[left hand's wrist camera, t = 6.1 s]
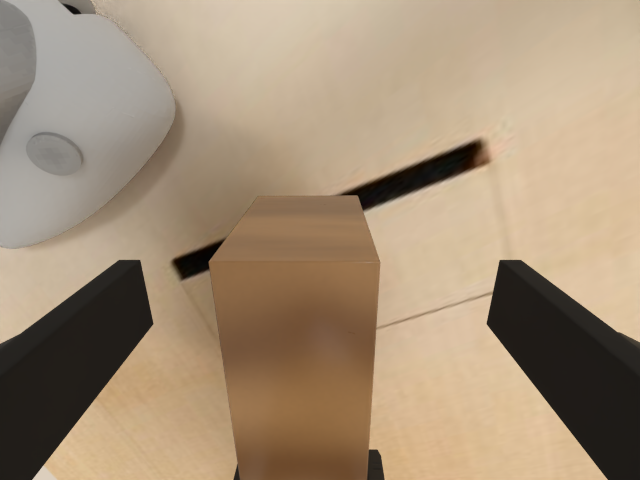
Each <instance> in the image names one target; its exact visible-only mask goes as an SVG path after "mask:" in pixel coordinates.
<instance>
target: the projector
mask: <svg viewBox="0 0 640 480" xmlns="http://www.w3.org/2000/svg"><path fill="white" fill-rule="evenodd" d="M175 113H176V104H175V99H174V96H173V93H172V90H171V88H170V86H169V84H168V82H167V80H166V79H165V77H164V76H163V75H162V73H161V72H160V71H159V69H158V68H157V67H156V66H155V65H154V63H153V62H152V61H151V60H150V59H149V58H148V56H147V55H146V54H145V53H144V52H143V51H142V50H141V49H140V48H139V47H138V46H137V45H136V44H135V43H134V42H133V41H132V40H131V39H130V38H129V37H128V36H127V35H126V34H125V33H124V32H123V31H122V30H121V29H120V28H119V27H118V26H117V25H116V24H115V23H114V22H113V21H112V20H110V19H109V18H107V17H104V16H101V15H96V12H95V9H94V6H93V4H92V2H91V0H0V247H3V248H7V249H17V248H22V247H27V246H31V245H34V244H37V243H40V242H43V241H46V240H48V239H50V238H53V237H55V236H57V235H59V234H61V233H63V232H65V231H67V230H69V229H71V228H72V227H74V226H76V225H77V224H79V223H81V222H82V221H84V220H85V219H87V218H88V217H90V216H91V215H92V214H94V213H95V212H96V211H98V210H99V209H100V208H101V207H103V206H104V205H105V204H106V203H108V202H109V201H110V200H111V199H112V198H113V197H114V196H115V195H116V194H117V193H118V192H120V191H121V190H122V189H123V188H124V187H125V186H126V184H127V183H128V182H129V181H130V180H131V179H132V178H133V177H134V176H135V175H136V174H137V173H138V172H139V171H140V169H141V168H142V167H143V166H144V165H145V164H146V162H147V161H148V160H149V159H150V158H151V156H152V155H153V154H154V153H155V151H156V150H157V148H158V147H159V146H160V144H161V143H162V142H163V140H164V138H165V137H166V135H167V133H168V132H169V130H170V128H171V126H172V124H173V121H174V118H175Z"/></svg>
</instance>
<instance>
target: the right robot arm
mask: <svg viewBox="0 0 640 480" xmlns="http://www.w3.org/2000/svg"><path fill="white" fill-rule="evenodd" d="M234 480H240V476H239V469H238V464H237V468H236V472H235V476H234ZM367 480H384V473H383V467H382V460H381V455H380V454H379V452H378V450H369V454H368V470H367Z"/></svg>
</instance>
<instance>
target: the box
mask: <svg viewBox="0 0 640 480" xmlns="http://www.w3.org/2000/svg"><path fill="white" fill-rule="evenodd" d="M209 268H210V275H211V282H212V289H213V296H214V303H215V310H216V316H217V323H218V330H219V337H220V344H221V351H222V358H223V365H224V372H225V379H226V386H227V393H228V400H229V407H230V413H231V420H232V427H233V434H234V441H235V448H236V455H237V462H238V469H239V476H240V480H367V470H368V454H369V438H370V422H371V405H372V389H373V373H374V356H375V340H376V324H377V308H378V291H379V275H380V260H379V257H378V254H377V251H376V248H375V245H374V242H373V239H372V237H371V234H370V231H369V228H368V225H367V222H366V219H365V216H364V213H363V210H362V207H361V204H360V201H359V198H358V196H258V197H257V198H256V200H255V201H254V202H253V204H252V205H251V206H250V208H249V209H248V210H247V212H246V213H245V214H244V216H243V217H242V218H241V220H240V221H239V222H238V223H237V225H236V226H235V227H234V229H233V230H232V231H231V233H230V234H229V235H228V237H227V238H226V239H225V241H224V242H223V243H222V245H221V246H220V247H219V249H218V250H217V251H216V253H215V254H214V255H213V257H212V258H211V259H210V261H209Z"/></svg>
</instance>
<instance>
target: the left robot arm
mask: <svg viewBox="0 0 640 480" xmlns="http://www.w3.org/2000/svg"><path fill="white" fill-rule="evenodd" d="M152 325H153V320H152V315H151V310H150V305H149V300H148V296H147V291H146V286H145V281H144V276H143V271H142V267H141V262H140V260H119V261H117V262H116V263H115V264H113V265H112V266H111V267H109V268H108V269H106V270H105V271H104V272H102V273H101V274H100V275H98V276H97V277H96V278H94V279H93V280H92V281H90V282H89V283H88V284H86V285H85V286H84V287H82V288H81V289H80V290H78V291H77V292H76V293H74V294H73V295H72V296H70V297H69V298H68V299H66V300H65V301H64V302H62V303H61V304H60V305H58V306H57V307H56V308H54V309H53V310H52V311H50V312H49V313H48V314H46V315H45V316H44V317H42V318H41V319H40V320H38V321H37V322H36V323H34V324H33V325H32V326H30V327H29V328H28V329H26V330H25V331H24V332H22V333H21V334H19V335H17V336H15V337H13V338H11V339H9V340H7V341H5V342H3V343H1V344H0V480H32V479H33V478H34V477H35V475H36V474H37V473H38V471H39V470H40V469H41V468H42V466H43V465H44V464H45V463H46V461H47V460H48V459H49V457H50V456H51V455H52V454H53V452H54V451H55V450H56V448H57V447H58V446H59V445H60V443H61V442H62V441H63V439H64V438H65V437H66V436H67V434H68V433H69V432H70V430H71V429H72V428H73V427H74V425H75V424H76V423H77V421H78V420H79V419H80V418H81V416H82V415H83V414H84V412H85V411H86V410H87V409H88V407H89V406H90V405H91V403H92V402H93V401H94V400H95V398H96V397H97V396H98V394H99V393H100V392H101V391H102V389H103V388H104V387H105V385H106V384H107V383H108V382H109V380H110V379H111V378H112V376H113V375H114V374H115V373H116V371H117V370H118V369H119V367H120V366H121V365H122V364H123V362H124V361H125V360H126V358H127V357H128V356H129V355H130V353H131V352H132V351H133V349H134V348H135V347H136V346H137V344H138V343H139V342H140V340H141V339H142V338H143V337H144V335H145V334H146V333H147V331H148V330H149V329H150V328H151V326H152ZM487 325H488V326H489V328H490V329H491V330H492V331H493V333H494V334H495V335H496V337H497V338H498V339H499V340H500V342H501V343H502V344H503V346H504V347H505V348H506V349H507V351H508V352H509V353H510V355H511V356H512V357H513V358H514V360H515V361H516V362H517V364H518V365H519V366H520V367H521V369H522V370H523V371H524V373H525V374H526V375H527V376H528V378H529V379H530V380H531V382H532V383H533V384H534V385H535V387H536V388H537V389H538V391H539V392H540V393H541V394H542V396H543V397H544V398H545V400H546V401H547V402H548V403H549V405H550V406H551V407H552V409H553V410H554V411H555V412H556V414H557V415H558V416H559V418H560V419H561V420H562V421H563V423H564V424H565V425H566V427H567V428H568V429H569V430H570V432H571V433H572V434H573V436H574V437H575V438H576V439H577V441H578V442H579V443H580V445H581V446H582V447H583V448H584V450H585V451H586V452H587V454H588V455H589V456H590V457H591V459H592V460H593V461H594V463H595V464H596V465H597V466H598V468H599V469H600V470H601V471H602V473H603V474H604V475H605V477H606V478H607V479H608V480H640V342H638V341H636V340H634V339H632V338H630V337H628V336H626V335H624V334H622V333H620V332H616V331H615V330H614V329H612V328H611V327H610V326H608V325H607V324H606V323H604V322H603V321H602V320H600V319H599V318H598V317H596V316H595V315H594V314H592V313H591V312H590V311H588V310H587V309H586V308H584V307H583V306H582V305H580V304H579V303H578V302H576V301H575V300H574V299H572V298H571V297H570V296H568V295H567V294H566V293H564V292H563V291H562V290H560V289H559V288H558V287H556V286H555V285H554V284H552V283H551V282H550V281H548V280H547V279H546V278H544V277H543V276H542V275H540V274H539V273H538V272H536V271H535V270H533V269H532V268H531V267H529V266H528V265H527V264H525V263H524V262H523V261H521V260H500V262H499V267H498V271H497V276H496V281H495V286H494V291H493V296H492V300H491V305H490V310H489V315H488V320H487Z"/></svg>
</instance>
